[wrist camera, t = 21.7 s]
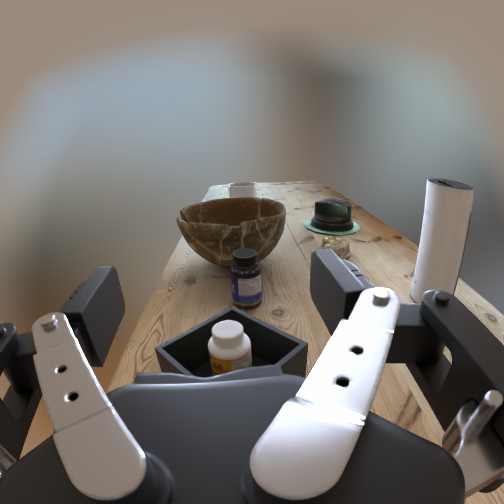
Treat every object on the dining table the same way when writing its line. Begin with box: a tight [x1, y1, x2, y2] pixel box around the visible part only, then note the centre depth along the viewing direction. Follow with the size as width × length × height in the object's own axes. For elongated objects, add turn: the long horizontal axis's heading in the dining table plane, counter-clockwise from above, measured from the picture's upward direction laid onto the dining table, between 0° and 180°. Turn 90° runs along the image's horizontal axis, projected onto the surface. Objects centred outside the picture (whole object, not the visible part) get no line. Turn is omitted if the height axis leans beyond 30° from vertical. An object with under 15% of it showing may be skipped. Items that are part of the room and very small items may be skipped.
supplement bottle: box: [208, 320, 252, 376], centre depth 39 cm, size 6×6×10 cm
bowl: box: [176, 197, 286, 267], centre depth 78 cm, size 28×27×15 cm
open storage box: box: [155, 306, 308, 378], centre depth 40 cm, size 15×15×8 cm
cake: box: [316, 237, 351, 259], centre depth 83 cm, size 10×10×5 cm
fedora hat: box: [305, 199, 360, 235], centre depth 106 cm, size 15×19×20 cm
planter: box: [228, 182, 257, 198], centre depth 133 cm, size 12×12×11 cm
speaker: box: [410, 178, 474, 304], centre depth 53 cm, size 11×10×26 cm
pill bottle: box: [230, 248, 262, 309], centre depth 61 cm, size 6×6×11 cm
